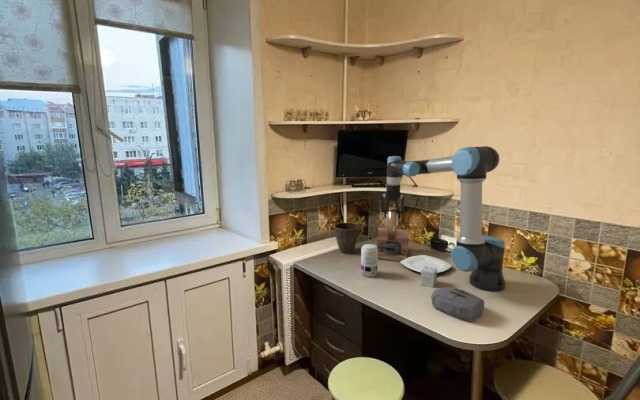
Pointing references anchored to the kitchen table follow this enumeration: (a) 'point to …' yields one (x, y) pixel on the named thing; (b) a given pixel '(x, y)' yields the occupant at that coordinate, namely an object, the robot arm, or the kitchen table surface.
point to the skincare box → (428, 276)
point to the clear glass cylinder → (391, 224)
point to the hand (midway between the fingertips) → (391, 224)
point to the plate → (425, 263)
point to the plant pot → (346, 236)
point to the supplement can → (369, 260)
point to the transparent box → (393, 245)
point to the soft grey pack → (458, 303)
